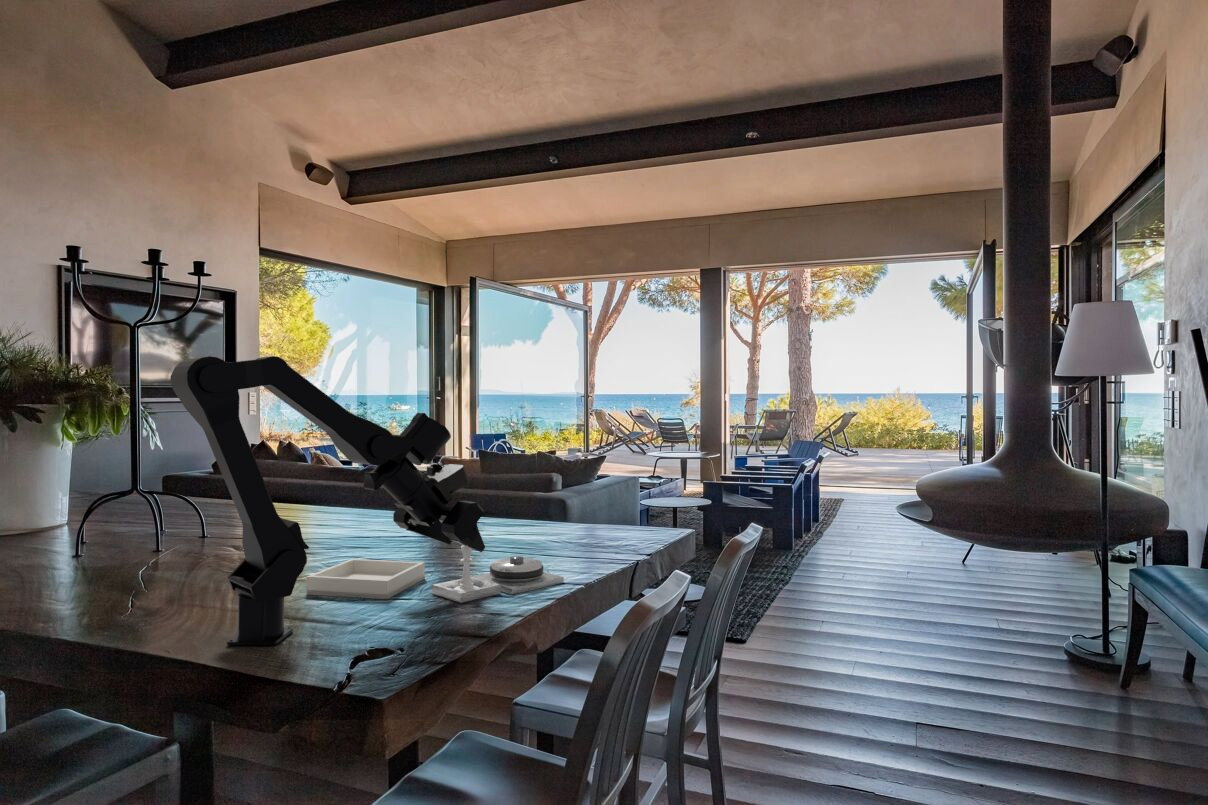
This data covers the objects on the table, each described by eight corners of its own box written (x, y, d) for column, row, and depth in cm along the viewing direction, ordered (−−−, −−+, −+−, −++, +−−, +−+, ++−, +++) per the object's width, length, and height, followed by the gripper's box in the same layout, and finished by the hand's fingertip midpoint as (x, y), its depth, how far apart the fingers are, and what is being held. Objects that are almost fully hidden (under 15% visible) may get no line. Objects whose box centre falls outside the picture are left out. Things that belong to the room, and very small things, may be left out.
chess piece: (474, 598, 122) (475, 537, 122) (446, 596, 123) (447, 536, 123) (485, 590, 127) (485, 532, 127) (458, 589, 128) (458, 531, 128)
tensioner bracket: (467, 605, 118) (467, 576, 118) (425, 591, 126) (425, 565, 126) (563, 582, 133) (563, 557, 133) (520, 571, 142) (520, 548, 142)
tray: (387, 599, 121) (387, 581, 121) (306, 594, 124) (306, 576, 124) (424, 578, 135) (424, 562, 136) (351, 574, 138) (351, 558, 138)
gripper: (473, 451, 115) (528, 514, 123) (408, 446, 128) (461, 503, 136) (430, 507, 109) (490, 569, 117) (366, 496, 122) (424, 552, 130)
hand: (466, 545), depth 125 cm, fingers open, 9 cm apart
